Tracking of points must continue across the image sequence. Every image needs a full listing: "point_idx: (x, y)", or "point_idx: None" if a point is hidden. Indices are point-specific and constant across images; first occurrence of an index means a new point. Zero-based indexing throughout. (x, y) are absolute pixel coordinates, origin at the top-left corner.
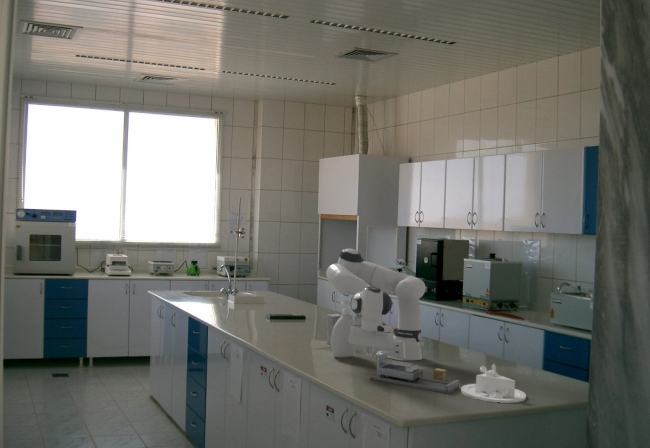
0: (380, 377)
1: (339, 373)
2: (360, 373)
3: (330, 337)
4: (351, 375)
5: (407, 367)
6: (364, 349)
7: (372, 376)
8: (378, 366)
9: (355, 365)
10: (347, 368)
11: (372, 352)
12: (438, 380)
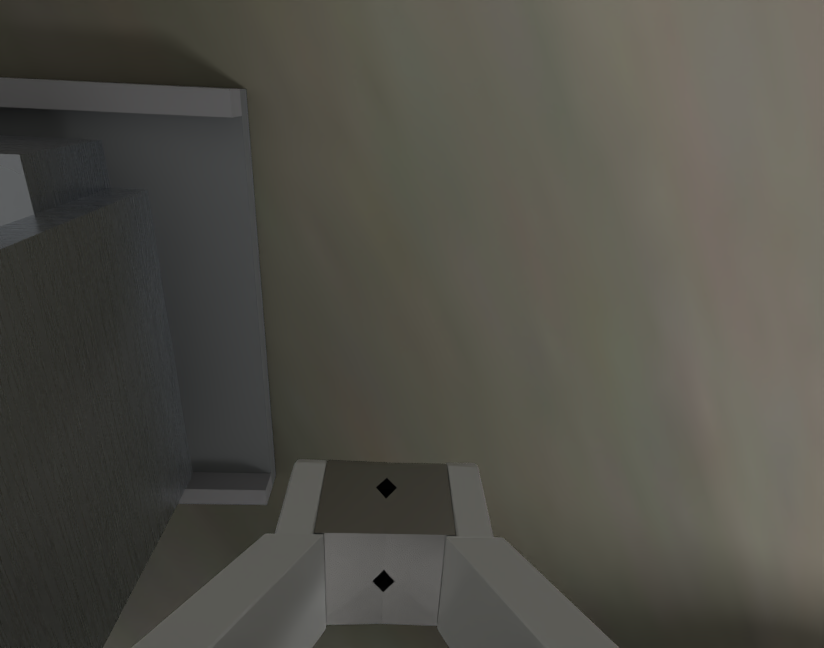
0: (35, 97)
1: (817, 126)
2: (530, 334)
3: None
4: (606, 132)
5: None
6: (596, 637)
7: (194, 88)
8: (37, 217)
9: (705, 611)
10: (762, 456)
11: (247, 576)
12: None
